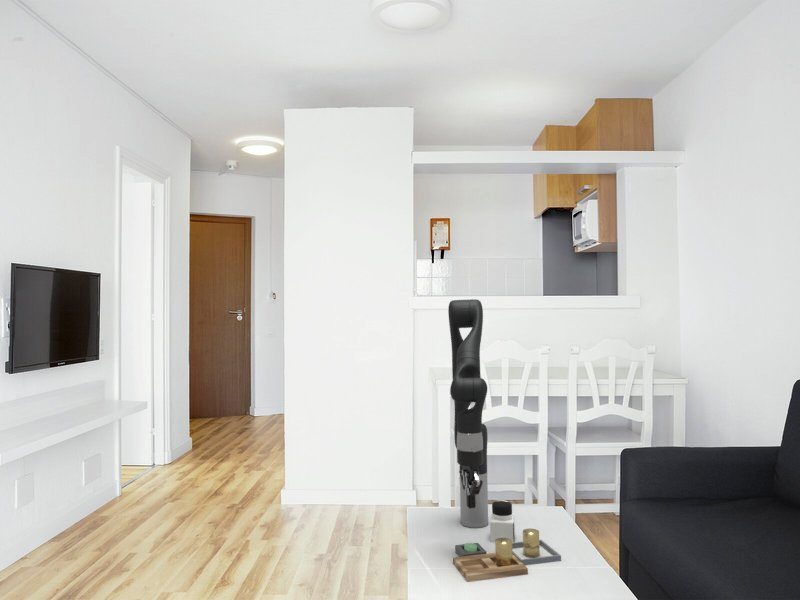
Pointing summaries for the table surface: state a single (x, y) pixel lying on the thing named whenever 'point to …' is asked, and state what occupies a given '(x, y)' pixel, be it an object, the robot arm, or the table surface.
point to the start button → (470, 547)
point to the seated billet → (503, 552)
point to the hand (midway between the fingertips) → (471, 507)
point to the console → (460, 552)
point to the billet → (531, 543)
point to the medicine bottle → (502, 521)
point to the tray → (538, 560)
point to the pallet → (487, 567)
